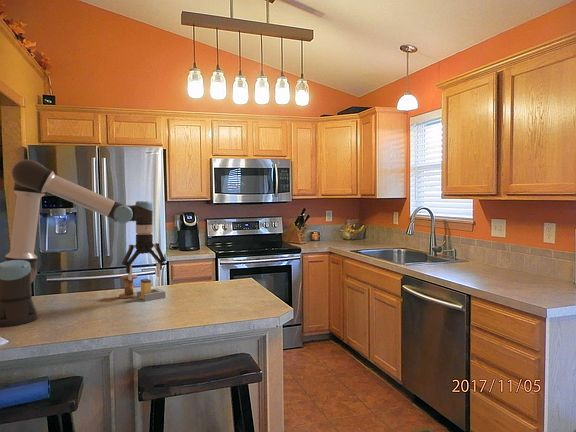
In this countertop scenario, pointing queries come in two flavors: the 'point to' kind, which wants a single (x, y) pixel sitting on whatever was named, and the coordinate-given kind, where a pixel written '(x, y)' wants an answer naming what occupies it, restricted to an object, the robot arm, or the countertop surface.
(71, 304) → the countertop surface
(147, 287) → the yellow upright block
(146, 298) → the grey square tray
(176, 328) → the countertop surface
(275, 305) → the countertop surface
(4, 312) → the robot arm
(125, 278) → the bobbin
